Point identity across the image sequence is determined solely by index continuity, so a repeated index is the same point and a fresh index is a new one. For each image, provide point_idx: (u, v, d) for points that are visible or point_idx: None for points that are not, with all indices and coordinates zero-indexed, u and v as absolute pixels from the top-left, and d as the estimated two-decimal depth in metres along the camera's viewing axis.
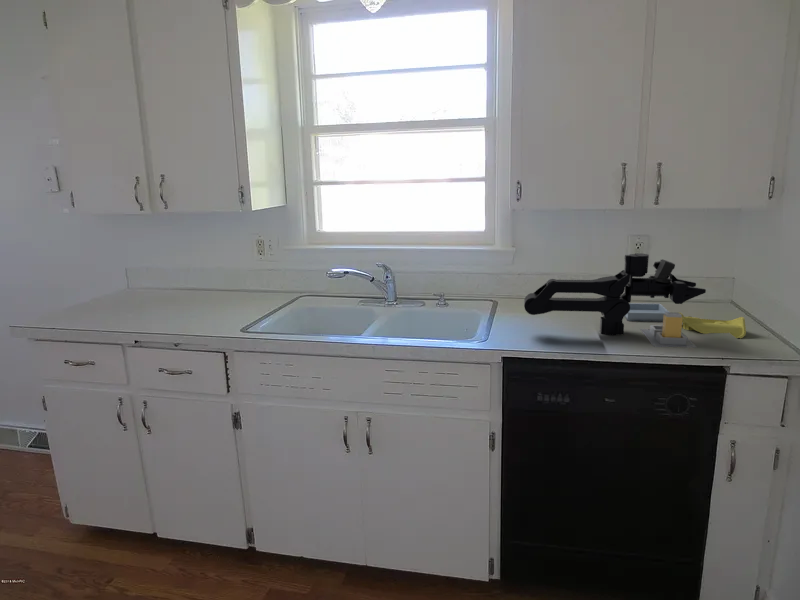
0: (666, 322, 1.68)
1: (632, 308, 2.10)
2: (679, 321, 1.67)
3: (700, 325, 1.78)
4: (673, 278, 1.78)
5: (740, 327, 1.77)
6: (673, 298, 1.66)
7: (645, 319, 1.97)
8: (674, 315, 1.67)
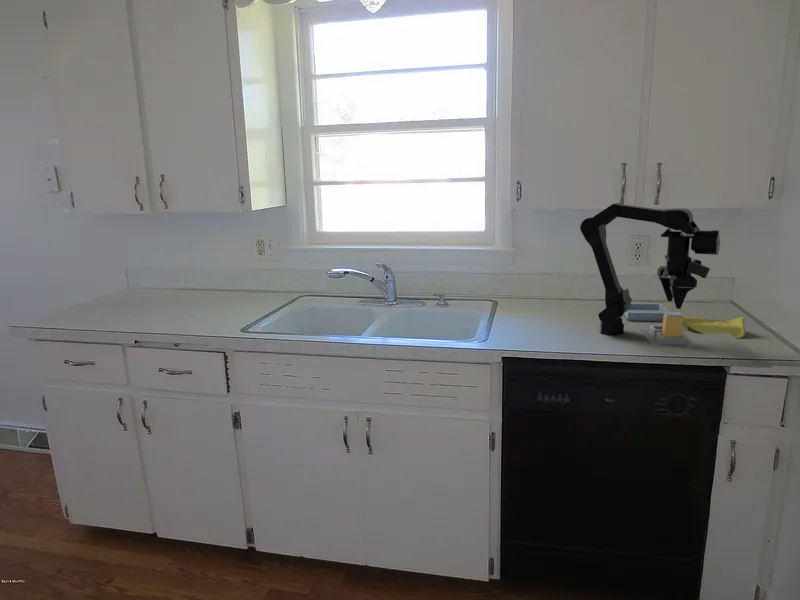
0: (666, 322, 1.68)
1: (632, 308, 2.10)
2: (679, 321, 1.67)
3: (699, 325, 1.79)
4: None
5: (739, 327, 1.77)
6: (680, 277, 1.57)
7: (645, 319, 1.97)
8: (674, 315, 1.67)
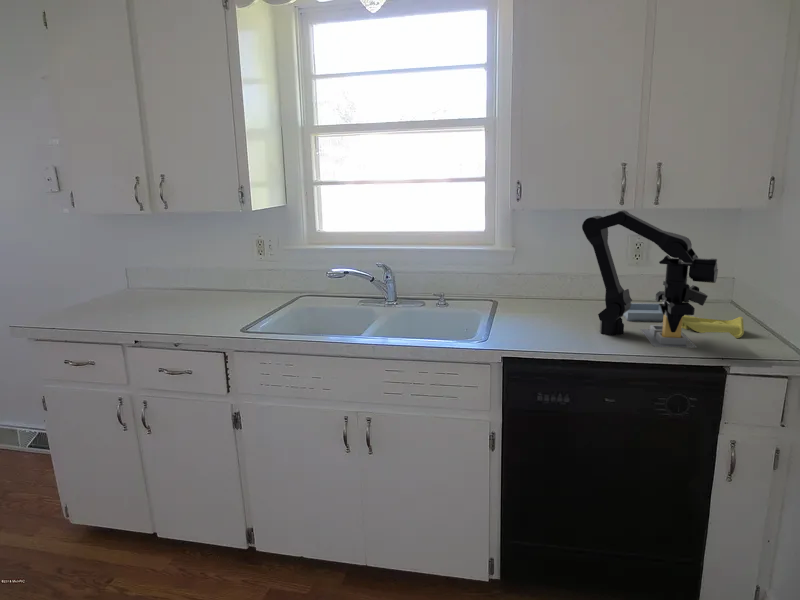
0: (666, 322, 1.68)
1: (632, 308, 2.10)
2: None
3: (698, 324, 1.80)
4: None
5: (738, 327, 1.78)
6: (677, 305, 1.59)
7: (645, 319, 1.97)
8: None
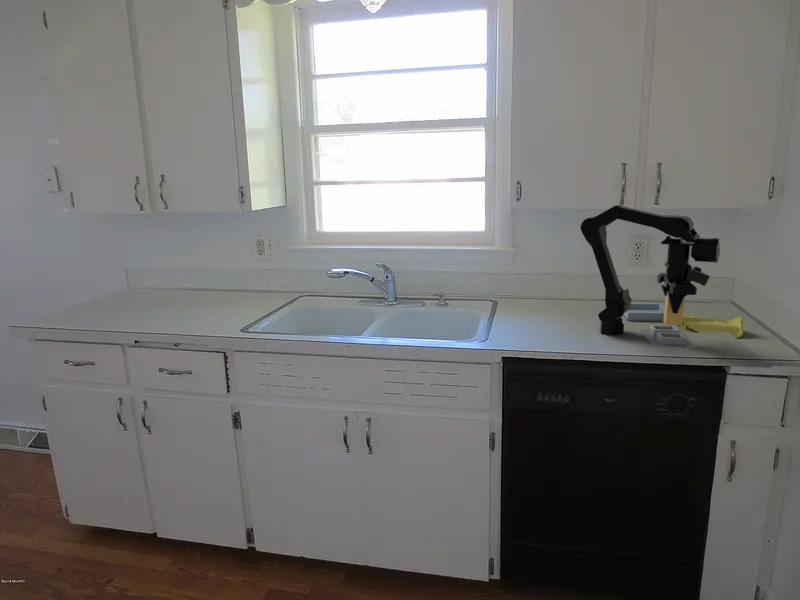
0: (668, 303, 1.66)
1: (632, 308, 2.10)
2: None
3: (697, 324, 1.80)
4: None
5: (738, 327, 1.78)
6: (679, 285, 1.57)
7: (645, 319, 1.97)
8: None
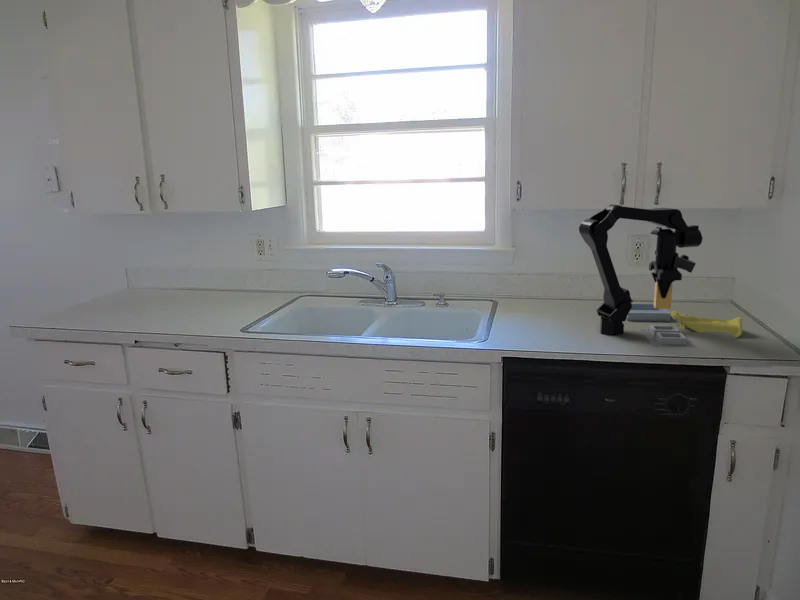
0: (657, 289, 1.79)
1: (632, 308, 2.10)
2: (669, 288, 1.78)
3: (695, 324, 1.80)
4: None
5: (737, 327, 1.78)
6: (666, 271, 1.70)
7: (645, 319, 1.97)
8: None
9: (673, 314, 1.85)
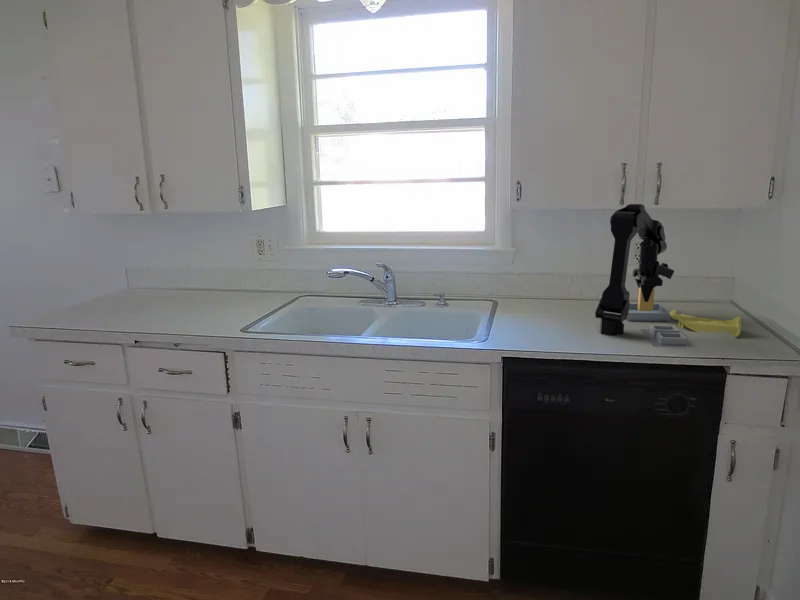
0: (641, 293, 2.01)
1: (632, 308, 2.10)
2: None
3: (694, 323, 1.81)
4: None
5: (735, 327, 1.78)
6: (648, 278, 1.92)
7: (645, 319, 1.97)
8: None
9: (672, 314, 1.85)
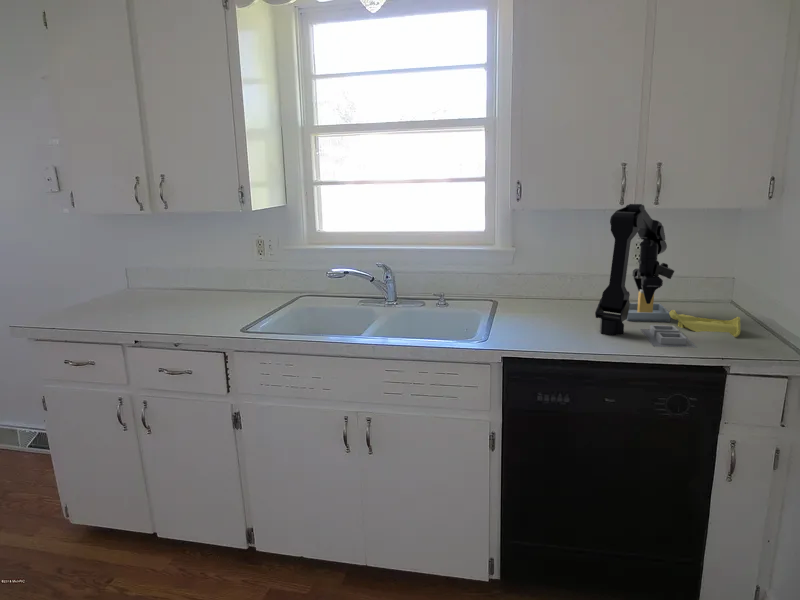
0: (640, 297, 2.01)
1: (632, 308, 2.10)
2: None
3: (694, 323, 1.81)
4: None
5: (735, 327, 1.78)
6: (648, 278, 1.92)
7: (645, 319, 1.97)
8: None
9: (671, 314, 1.85)
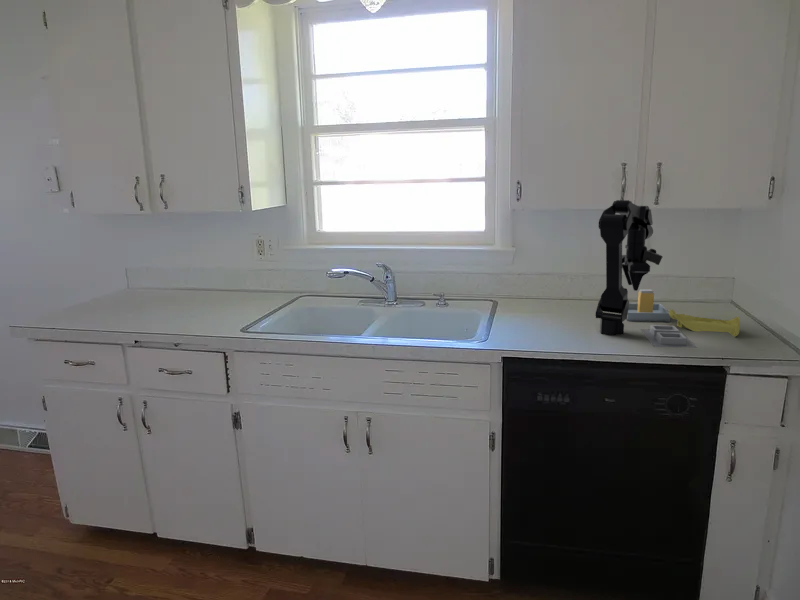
0: (640, 297, 2.01)
1: (632, 308, 2.10)
2: (651, 296, 2.00)
3: (692, 323, 1.81)
4: None
5: (734, 327, 1.78)
6: (635, 263, 1.85)
7: (645, 319, 1.97)
8: (647, 291, 2.00)
9: (670, 313, 1.86)
